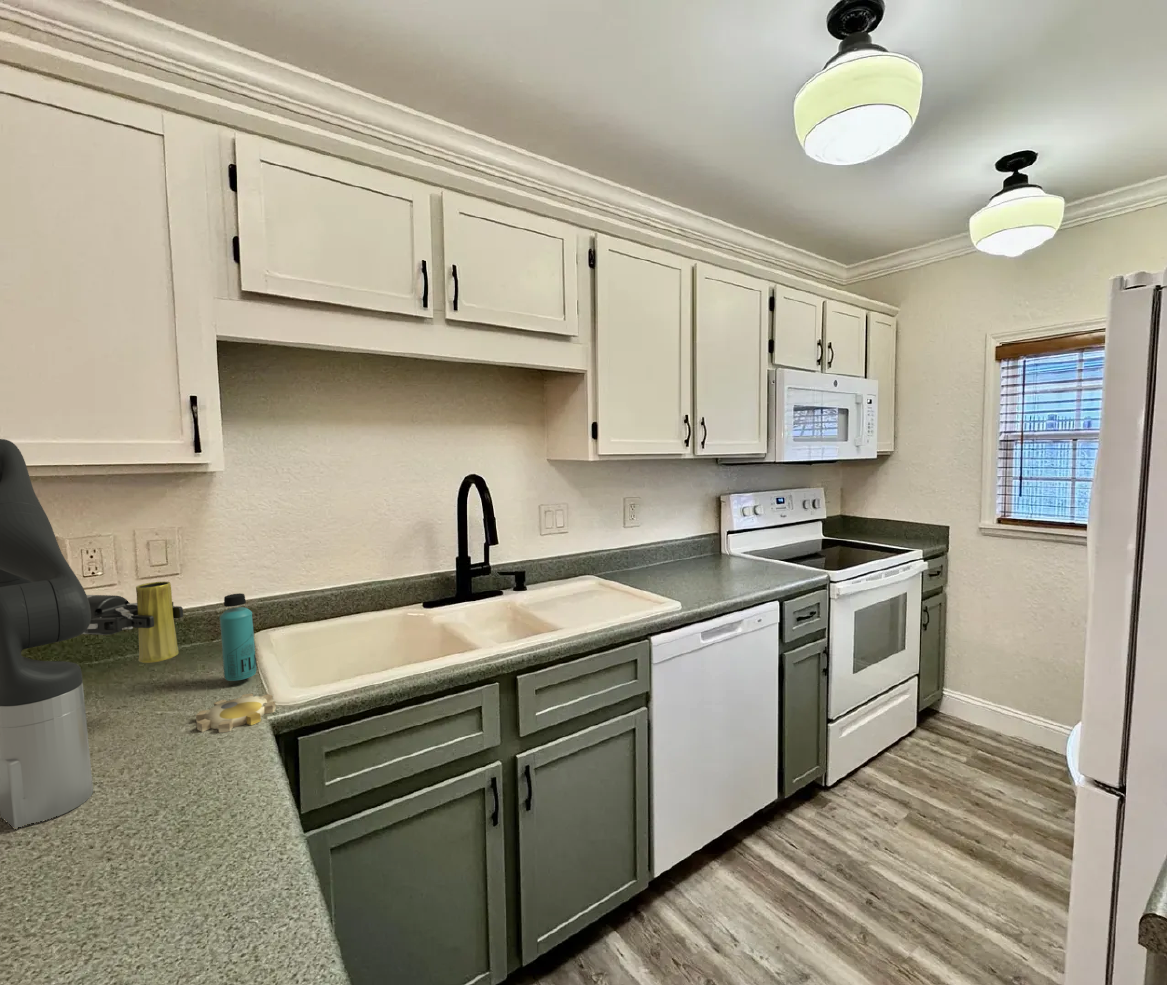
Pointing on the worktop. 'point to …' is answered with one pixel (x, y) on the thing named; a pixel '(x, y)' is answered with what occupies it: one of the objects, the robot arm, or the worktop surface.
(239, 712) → the sprocket board
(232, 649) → the beverage bottle
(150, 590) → the vase
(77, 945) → the worktop surface
